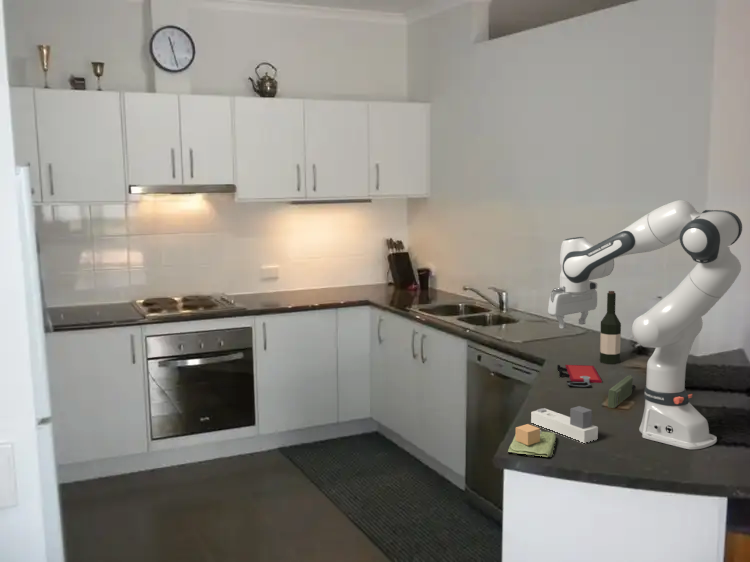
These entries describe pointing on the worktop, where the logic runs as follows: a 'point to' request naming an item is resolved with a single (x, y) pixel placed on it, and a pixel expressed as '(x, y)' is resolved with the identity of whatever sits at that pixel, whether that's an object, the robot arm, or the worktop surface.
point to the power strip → (563, 425)
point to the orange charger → (528, 434)
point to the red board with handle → (580, 375)
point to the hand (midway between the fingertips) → (572, 326)
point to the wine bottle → (610, 333)
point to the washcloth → (535, 446)
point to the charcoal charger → (581, 417)
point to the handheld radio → (620, 391)
